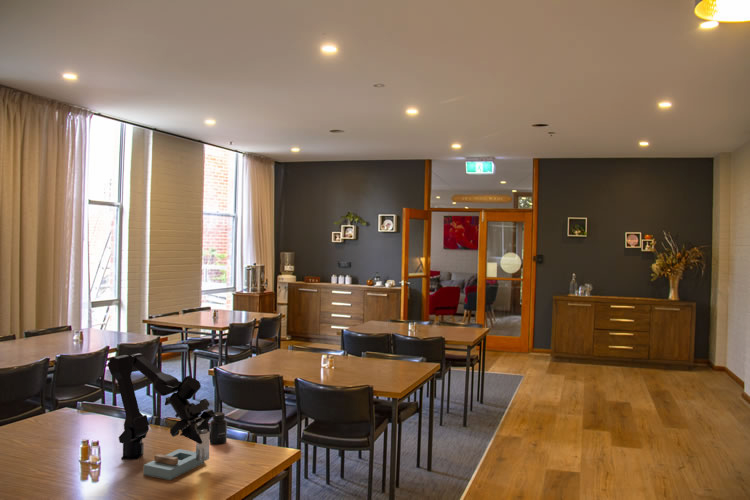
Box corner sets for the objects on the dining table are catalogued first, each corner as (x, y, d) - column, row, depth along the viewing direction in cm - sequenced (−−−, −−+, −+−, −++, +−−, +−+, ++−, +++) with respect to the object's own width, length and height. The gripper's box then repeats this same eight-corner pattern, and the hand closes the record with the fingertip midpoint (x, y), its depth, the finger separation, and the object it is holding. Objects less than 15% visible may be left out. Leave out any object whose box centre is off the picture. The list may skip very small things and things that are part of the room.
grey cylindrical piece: (194, 461, 203) (195, 432, 203) (197, 456, 208) (197, 428, 208) (207, 461, 203) (208, 431, 204) (210, 456, 208) (210, 427, 208)
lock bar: (154, 461, 203) (154, 455, 203) (158, 459, 205) (158, 453, 205) (174, 465, 200) (174, 459, 200) (178, 463, 202) (178, 457, 202)
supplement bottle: (221, 446, 231) (222, 416, 231) (206, 444, 233) (206, 415, 233) (229, 440, 238) (229, 412, 238) (214, 439, 239) (214, 411, 239)
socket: (143, 474, 201) (143, 464, 201) (179, 458, 217) (179, 448, 217) (170, 480, 196) (170, 470, 196) (204, 462, 213) (204, 453, 213)
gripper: (177, 399, 198) (201, 435, 194) (211, 387, 216) (235, 420, 211) (159, 418, 201) (183, 454, 197) (194, 405, 219) (217, 438, 214)
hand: (205, 441), depth 205 cm, fingers closed on grey cylindrical piece, 5 cm apart
